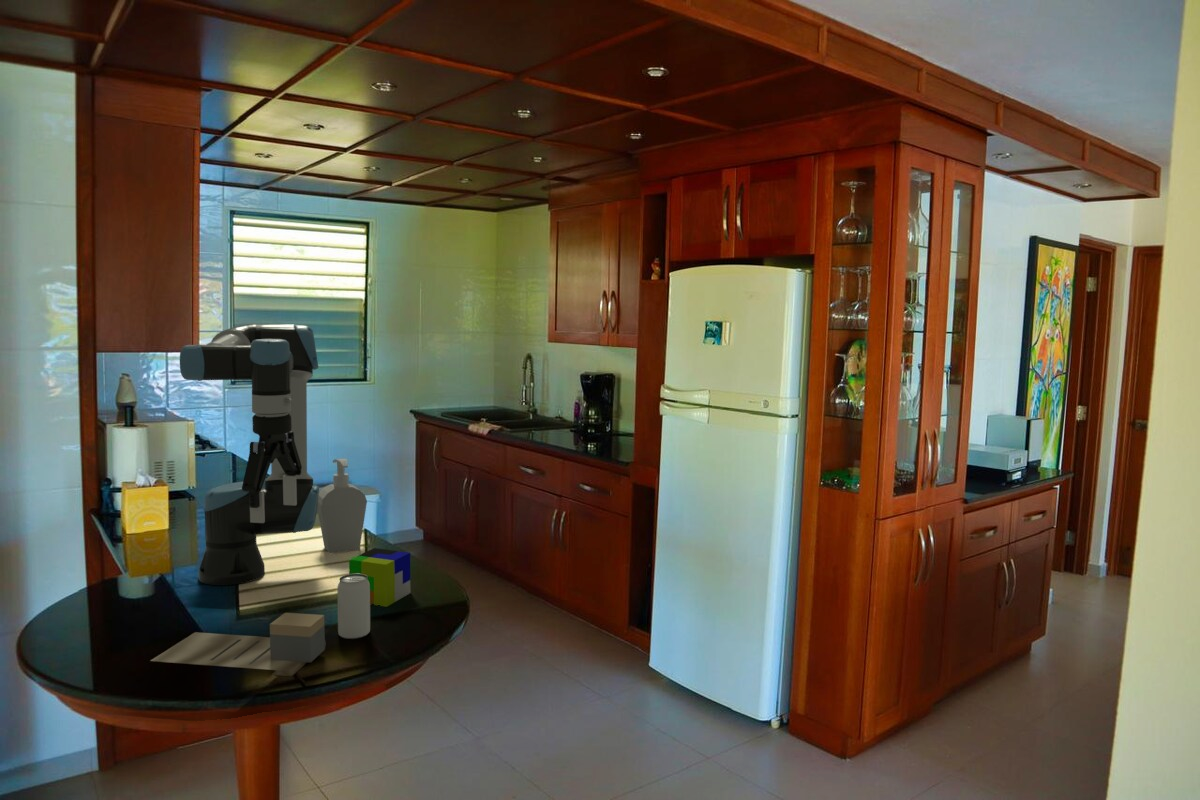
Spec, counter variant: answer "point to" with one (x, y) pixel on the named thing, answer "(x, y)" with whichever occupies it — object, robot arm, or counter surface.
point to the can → (353, 606)
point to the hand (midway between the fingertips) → (274, 513)
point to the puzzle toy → (384, 574)
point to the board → (228, 653)
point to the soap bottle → (341, 512)
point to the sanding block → (297, 637)
